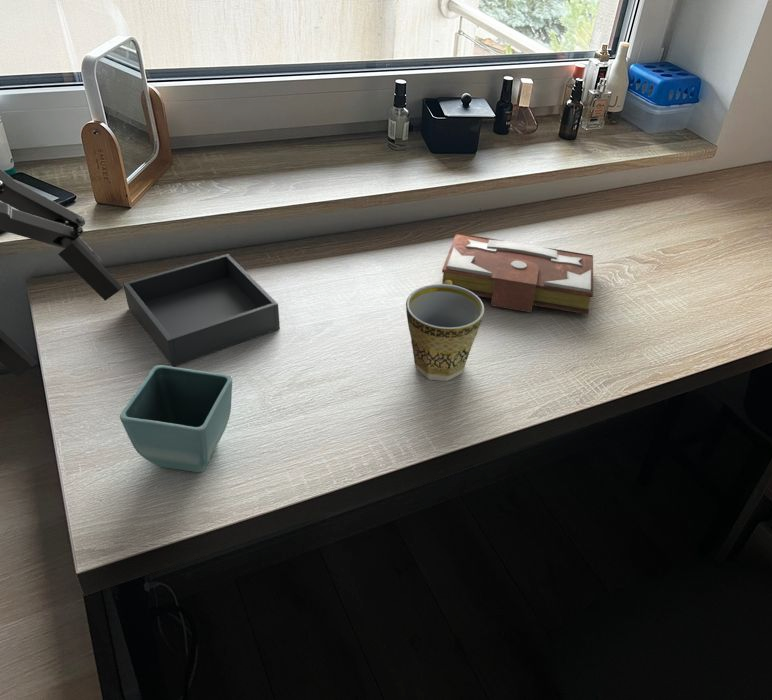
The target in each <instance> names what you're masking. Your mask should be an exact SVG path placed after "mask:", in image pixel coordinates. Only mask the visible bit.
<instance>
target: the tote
mask: <svg viewBox="0 0 772 700" xmlns="http://www.w3.org/2000/svg"><path fill="white" fill-rule="evenodd" d="M122 286H123V289H124V294H125V299H126V303H127V306H128V310H129V311H130V312H131V313H132V315H133V316H134V317H135V319H136V320H137V322H138V323H139V324H140V325H141V327H142V328H143V329H144V331H146V334H147V335H148V336H149V337H150V339H151V340H152V342H153V343H154V344H155V345H156V347H157V348H158V349H159V350H160V352H161V353H162V355H163V356H164V357H165V358H166V360H167V361H168V363H169V364H170V366H171V367H176V366H179V365H182V364H184V363H185V364H186V363H188V362H191V361H193V360H196V359H199V358H202V357H205V356H208V355H210V354H213V353H216V352H218V351H222V350H225V349H228V348H230V347H234V346H236V345H238V344H242V343H244V342H247V341H250V340H252V339H255V338H258V337H261V336H265V335H267V334H269V333H272V332H276V331H278V330H280V329H281V327H280V326H281V324H280V323H281V321H280V310H279V309H280V308H279V303H278V302H277V301H276V300H275V299H274V298H273V297H272V296H271V295H270V294H269V293H268V292H267V291H266V290H265V289H264V288H263V287H262V286H261V285H260V284H259V283H258V282H257V281H256V280H255V279H254V278H253V277H252V276H251V275H250V274H249V273H248V272H247V271H246V270H245V269H244V268H243V267H242V266H241V265H240V264H239V263H238V261H236V260H235V259H234V258H233V257H232V256H231V255H230V254H229V253H225V254H222V255H218V256H214V257H211V258H207V259H204V260H200V261H197V262H192V263H190V264H185V265H184V266H179V267H175V268H172V269H168V270H165V271H161V272H158V273H153V274H151V275H146V276H144V277H140V278H136V279H133V280H129V281H126V282H123V283H122Z"/></svg>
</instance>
